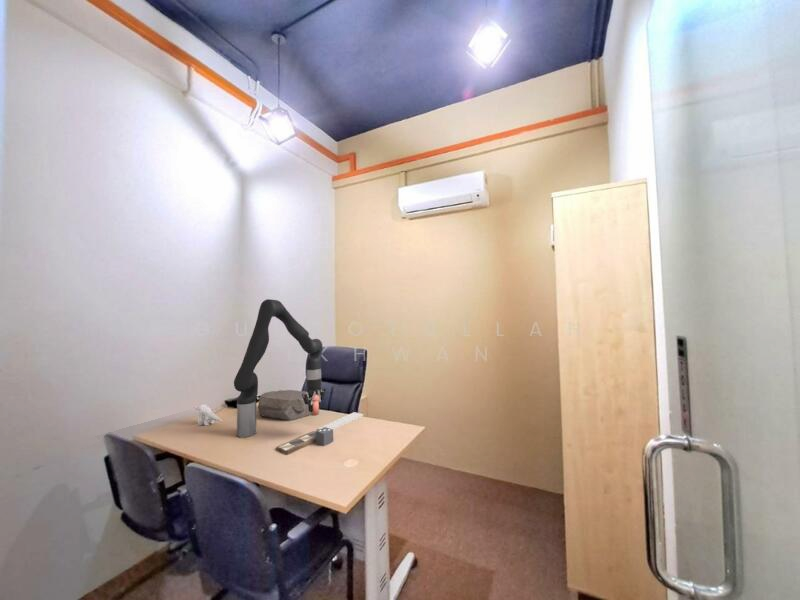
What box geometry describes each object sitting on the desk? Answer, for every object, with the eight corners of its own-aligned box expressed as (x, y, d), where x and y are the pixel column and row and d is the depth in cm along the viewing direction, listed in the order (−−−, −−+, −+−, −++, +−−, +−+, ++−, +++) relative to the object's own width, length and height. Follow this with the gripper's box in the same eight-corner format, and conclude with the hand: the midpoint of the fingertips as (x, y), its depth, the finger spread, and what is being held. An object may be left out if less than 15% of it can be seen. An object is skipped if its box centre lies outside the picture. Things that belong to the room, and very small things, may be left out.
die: (315, 443, 151) (315, 430, 151) (325, 438, 155) (325, 426, 156) (324, 446, 147) (323, 433, 147) (333, 441, 152) (333, 429, 152)
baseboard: (314, 430, 168) (327, 434, 163) (314, 425, 168) (327, 428, 163) (351, 413, 194) (363, 416, 188) (351, 409, 194) (363, 411, 188)
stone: (323, 409, 200) (321, 386, 201) (296, 425, 176) (294, 399, 176) (280, 406, 214) (278, 385, 214) (249, 421, 189) (247, 397, 189)
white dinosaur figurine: (198, 418, 187) (200, 400, 186) (227, 427, 178) (229, 408, 178) (187, 422, 180) (189, 404, 180) (217, 431, 172) (218, 412, 172)
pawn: (308, 414, 157) (308, 394, 157) (315, 412, 161) (315, 392, 161) (314, 416, 155) (313, 395, 155) (321, 413, 158) (320, 393, 159)
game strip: (276, 449, 144) (276, 446, 144) (313, 433, 162) (313, 430, 162) (287, 454, 139) (287, 451, 139) (324, 437, 157) (324, 434, 157)
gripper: (319, 374, 166) (320, 405, 166) (297, 379, 155) (298, 413, 154) (329, 375, 162) (329, 407, 162) (307, 381, 150) (308, 416, 150)
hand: (314, 410), depth 158 cm, fingers closed on pawn, 4 cm apart
